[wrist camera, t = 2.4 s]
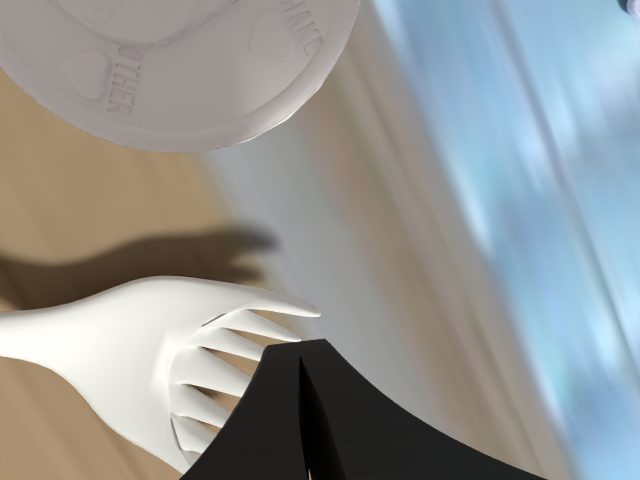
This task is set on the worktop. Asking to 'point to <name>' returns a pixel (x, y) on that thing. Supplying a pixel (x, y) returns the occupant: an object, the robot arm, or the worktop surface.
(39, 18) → the smoothie
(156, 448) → the white plastic utensil
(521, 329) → the worktop surface
